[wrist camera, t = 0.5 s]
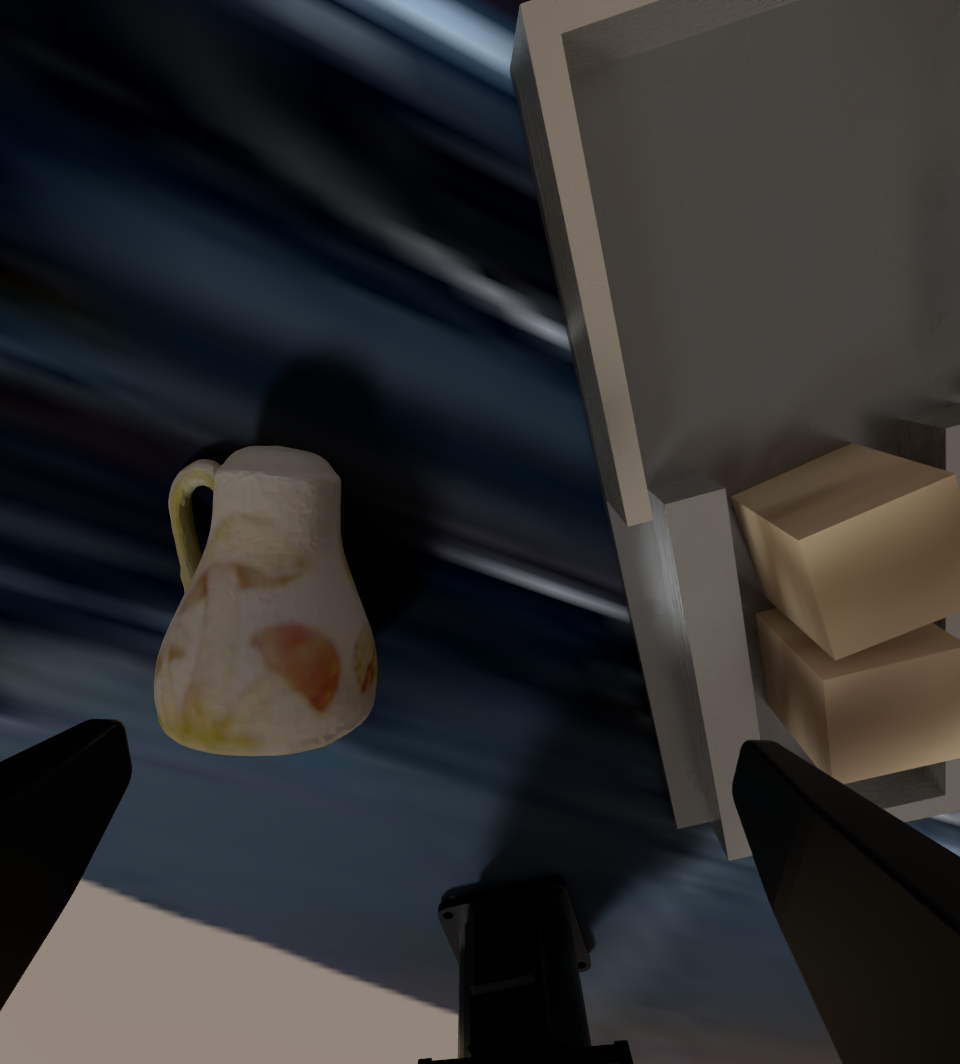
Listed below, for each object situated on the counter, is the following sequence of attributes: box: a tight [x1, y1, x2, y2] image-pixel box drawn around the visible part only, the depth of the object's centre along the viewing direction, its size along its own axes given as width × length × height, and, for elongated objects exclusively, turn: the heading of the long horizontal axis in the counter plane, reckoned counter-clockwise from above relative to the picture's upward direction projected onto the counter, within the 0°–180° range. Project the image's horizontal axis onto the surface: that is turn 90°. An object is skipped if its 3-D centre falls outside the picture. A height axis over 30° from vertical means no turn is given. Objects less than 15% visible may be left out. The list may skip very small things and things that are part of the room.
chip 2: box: [756, 608, 960, 784], centre depth 21 cm, size 4×4×4 cm
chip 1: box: [731, 443, 960, 661], centre depth 19 cm, size 4×4×4 cm
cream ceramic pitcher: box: [154, 446, 378, 756], centre depth 19 cm, size 8×10×10 cm
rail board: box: [510, 0, 960, 861], centre depth 19 cm, size 30×14×4 cm, turn 16°
